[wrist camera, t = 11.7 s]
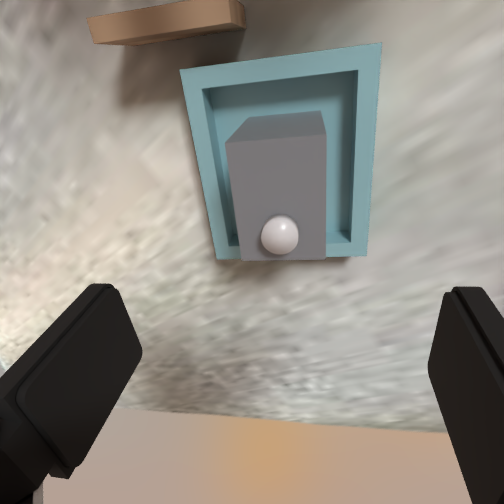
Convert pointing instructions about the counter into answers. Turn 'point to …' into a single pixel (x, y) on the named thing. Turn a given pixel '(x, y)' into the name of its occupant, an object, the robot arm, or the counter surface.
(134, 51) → the counter surface
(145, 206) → the counter surface
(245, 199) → the grey rectangular block
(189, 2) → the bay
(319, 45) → the counter surface
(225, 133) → the tray
